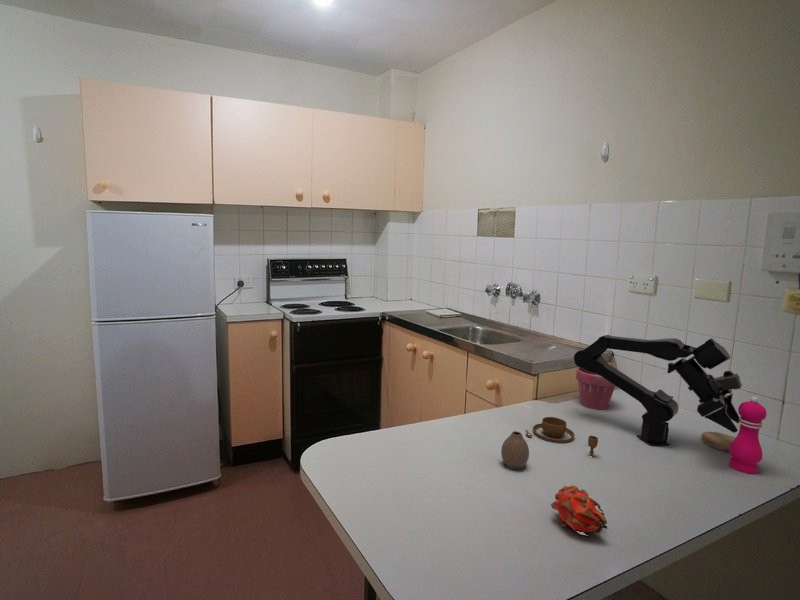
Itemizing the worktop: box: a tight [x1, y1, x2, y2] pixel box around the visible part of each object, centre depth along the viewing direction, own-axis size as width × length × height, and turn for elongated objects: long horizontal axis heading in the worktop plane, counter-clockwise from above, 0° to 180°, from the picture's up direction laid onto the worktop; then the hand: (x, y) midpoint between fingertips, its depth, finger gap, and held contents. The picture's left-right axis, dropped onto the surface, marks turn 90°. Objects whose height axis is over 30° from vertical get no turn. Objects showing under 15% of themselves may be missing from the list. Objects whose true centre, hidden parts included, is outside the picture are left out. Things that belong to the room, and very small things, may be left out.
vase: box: [500, 430, 530, 470], centre depth 120 cm, size 7×7×9 cm
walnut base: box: [700, 431, 736, 453], centre depth 141 cm, size 11×11×2 cm
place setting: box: [525, 416, 599, 456], centre depth 137 cm, size 18×20×6 cm
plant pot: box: [575, 366, 616, 410], centre depth 169 cm, size 14×14×13 cm
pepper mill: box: [728, 396, 767, 475], centre depth 125 cm, size 7×7×20 cm
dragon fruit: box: [550, 484, 608, 536], centre depth 95 cm, size 8×8×12 cm
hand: (738, 427), depth 126 cm, fingers open, 9 cm apart
